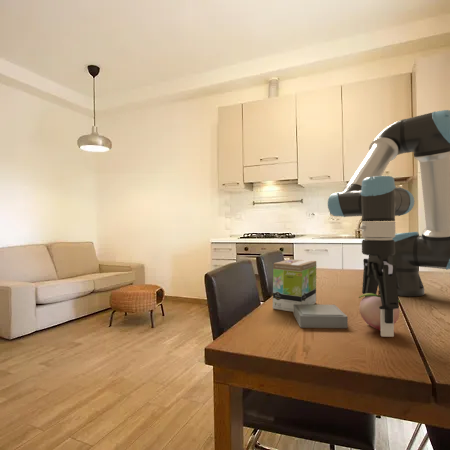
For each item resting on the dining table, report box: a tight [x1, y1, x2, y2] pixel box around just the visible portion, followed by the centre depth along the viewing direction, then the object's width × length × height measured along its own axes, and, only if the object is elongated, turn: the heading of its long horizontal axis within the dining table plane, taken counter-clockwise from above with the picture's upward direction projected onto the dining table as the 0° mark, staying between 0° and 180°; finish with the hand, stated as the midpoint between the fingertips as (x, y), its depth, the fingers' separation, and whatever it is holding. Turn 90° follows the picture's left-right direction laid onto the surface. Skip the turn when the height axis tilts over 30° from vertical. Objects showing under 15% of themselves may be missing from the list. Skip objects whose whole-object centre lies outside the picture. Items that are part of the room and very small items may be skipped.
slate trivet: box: [293, 304, 349, 329], centre depth 88 cm, size 12×12×3 cm
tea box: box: [272, 259, 317, 313], centre depth 104 cm, size 15×10×15 cm, turn 148°
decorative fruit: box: [358, 290, 401, 331], centre depth 79 cm, size 9×8×10 cm
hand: (379, 329), depth 79 cm, fingers closed on decorative fruit, 8 cm apart
